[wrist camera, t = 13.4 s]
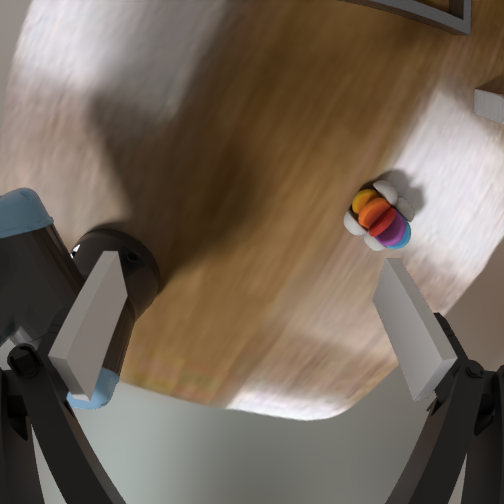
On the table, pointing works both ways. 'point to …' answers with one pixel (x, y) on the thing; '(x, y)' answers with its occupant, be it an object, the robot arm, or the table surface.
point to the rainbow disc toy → (380, 217)
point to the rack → (427, 13)
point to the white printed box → (489, 105)
